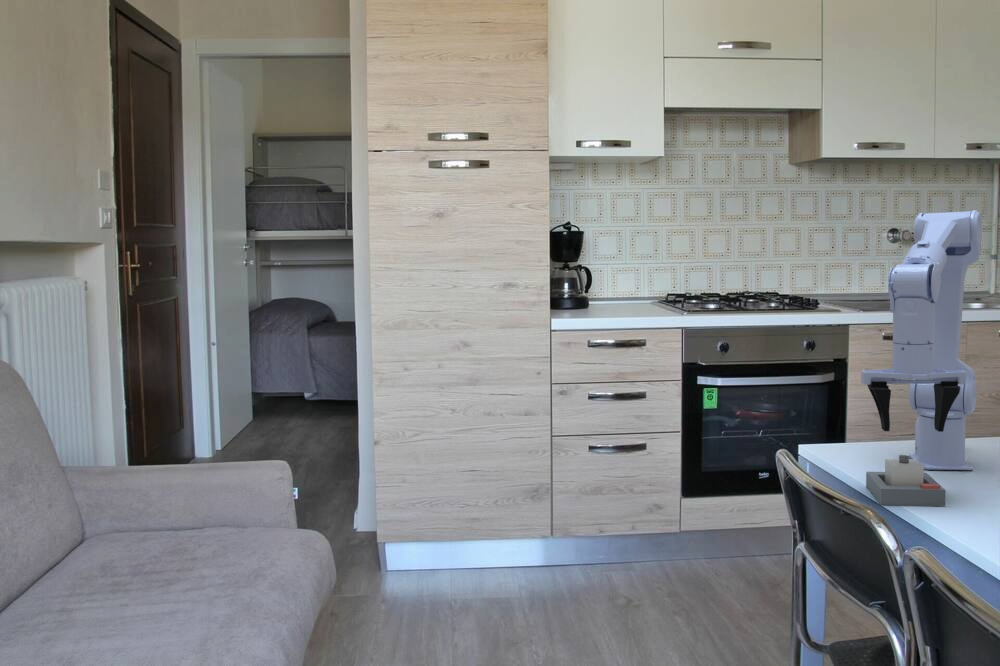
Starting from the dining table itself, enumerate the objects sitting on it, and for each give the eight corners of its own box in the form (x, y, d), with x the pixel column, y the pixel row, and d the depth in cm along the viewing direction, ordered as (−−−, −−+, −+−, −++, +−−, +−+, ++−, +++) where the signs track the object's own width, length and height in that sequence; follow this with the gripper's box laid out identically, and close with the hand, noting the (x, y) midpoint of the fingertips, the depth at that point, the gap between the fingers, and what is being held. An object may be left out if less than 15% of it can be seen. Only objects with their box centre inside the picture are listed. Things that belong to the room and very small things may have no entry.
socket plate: (866, 486, 141) (866, 468, 140) (926, 487, 139) (926, 469, 139) (880, 504, 131) (880, 485, 130) (945, 506, 129) (945, 486, 129)
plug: (884, 489, 138) (885, 452, 137) (915, 490, 137) (915, 452, 136) (891, 497, 133) (891, 459, 133) (923, 498, 132) (923, 459, 132)
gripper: (868, 346, 130) (867, 435, 132) (973, 345, 127) (971, 436, 129) (858, 340, 137) (858, 425, 138) (958, 339, 134) (956, 426, 135)
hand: (912, 430), depth 134 cm, fingers open, 7 cm apart
